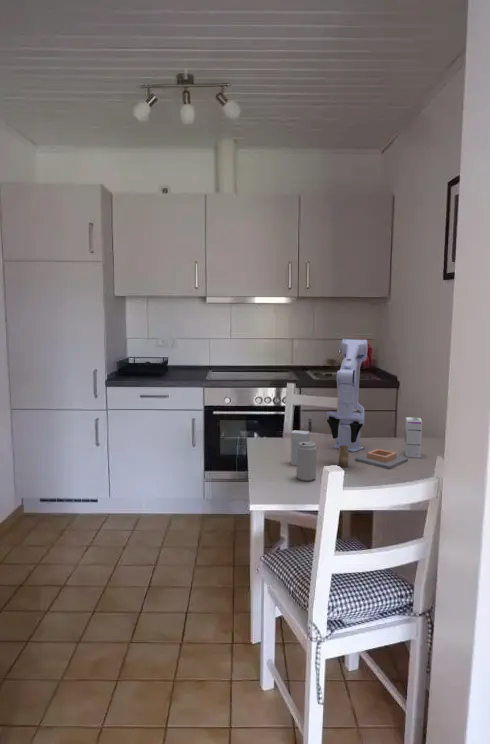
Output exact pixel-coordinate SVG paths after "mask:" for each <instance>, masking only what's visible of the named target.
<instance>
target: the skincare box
mask: <svg viewBox="0 0 490 744" xmlns="http://www.w3.org/2000/svg"><path fill="white" fill-rule="evenodd" d="M310 433H311V432H310V430H309V431H308V430H307V431H306V430H296V429H295V430H292V432H291V433H290V442H291V443H290V465H291V466H297V447H298V445H299V443H300V442H310V435H311V434H310Z"/></svg>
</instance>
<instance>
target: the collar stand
mask: <svg viewBox="0 0 490 744" xmlns="http://www.w3.org/2000/svg"><path fill="white" fill-rule="evenodd" d="M408 459H409V457H406V456H405V457H403V456H400V455H398V452H394V451H389V450H386V449H379V448H376V449H373V450H370V451H368V452H366V453H364V454H362V455H359V456H357V457H355V458H354V461H355V462H359V463H363V464H366V465H371V466H375V467H378V468H383V469H388V470H392V469H393V468H396V467H398V466H399V465H402V464H403V463H407V462H408Z"/></svg>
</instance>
